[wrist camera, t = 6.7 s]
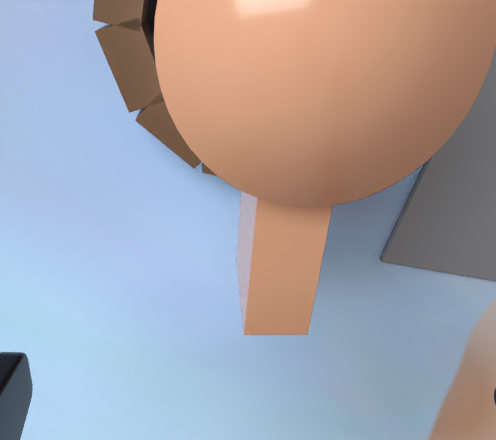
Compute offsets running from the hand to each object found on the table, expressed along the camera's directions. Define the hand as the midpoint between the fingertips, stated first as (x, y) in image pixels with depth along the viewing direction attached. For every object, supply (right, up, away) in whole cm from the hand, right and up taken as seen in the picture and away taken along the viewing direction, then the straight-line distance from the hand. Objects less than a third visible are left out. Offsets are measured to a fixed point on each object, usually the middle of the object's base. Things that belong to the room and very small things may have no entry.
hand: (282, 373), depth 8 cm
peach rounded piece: (0, +8, +10) cm, 13 cm away
